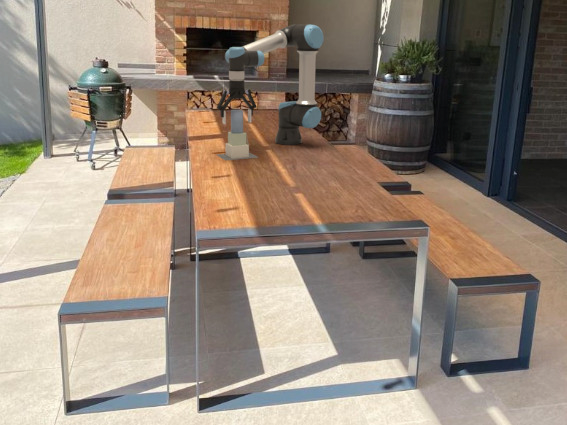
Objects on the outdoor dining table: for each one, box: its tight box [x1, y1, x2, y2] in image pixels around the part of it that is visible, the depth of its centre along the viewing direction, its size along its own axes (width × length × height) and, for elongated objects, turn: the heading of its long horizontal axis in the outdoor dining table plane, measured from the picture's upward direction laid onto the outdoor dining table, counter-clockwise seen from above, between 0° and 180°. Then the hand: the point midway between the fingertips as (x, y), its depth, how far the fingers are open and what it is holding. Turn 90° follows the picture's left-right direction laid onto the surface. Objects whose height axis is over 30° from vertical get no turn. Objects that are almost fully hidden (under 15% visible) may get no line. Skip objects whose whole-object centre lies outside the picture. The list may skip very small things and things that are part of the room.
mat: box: [216, 152, 260, 161], centre depth 326 cm, size 18×14×1 cm
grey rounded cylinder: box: [230, 109, 244, 134], centre depth 320 cm, size 6×6×11 cm
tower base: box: [225, 142, 250, 159], centre depth 325 cm, size 9×9×6 cm
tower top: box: [227, 131, 246, 146], centre depth 323 cm, size 7×7×6 cm
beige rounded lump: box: [243, 131, 250, 146], centre depth 345 cm, size 10×10×10 cm
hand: (236, 123), depth 320 cm, fingers open, 13 cm apart
